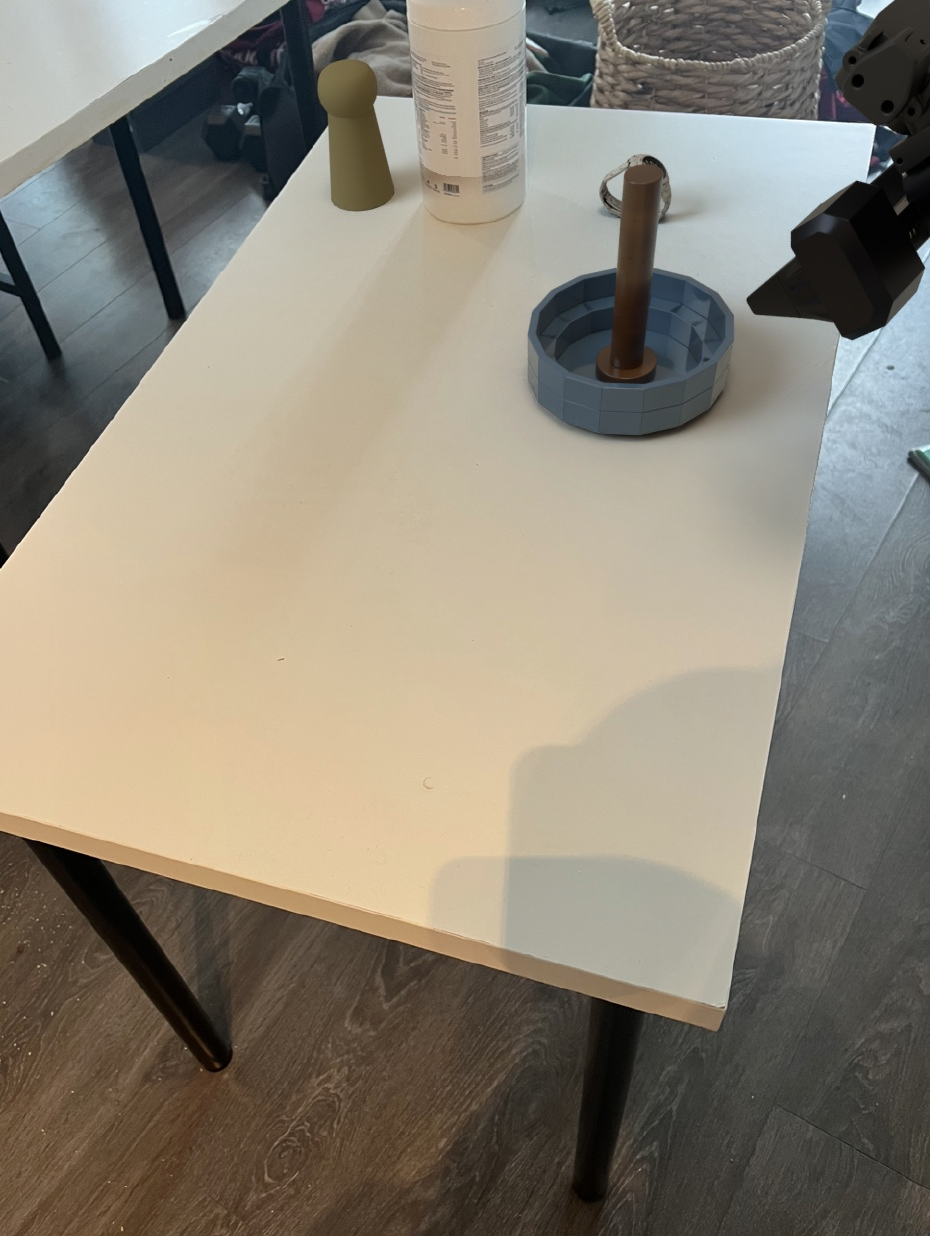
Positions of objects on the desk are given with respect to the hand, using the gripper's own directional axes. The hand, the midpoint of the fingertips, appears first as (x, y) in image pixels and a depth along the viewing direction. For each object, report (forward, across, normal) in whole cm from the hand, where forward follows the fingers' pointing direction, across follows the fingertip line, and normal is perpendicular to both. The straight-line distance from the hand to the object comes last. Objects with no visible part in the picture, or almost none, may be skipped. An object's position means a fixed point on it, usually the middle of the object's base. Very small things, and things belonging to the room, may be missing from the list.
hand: (791, 266), depth 57 cm
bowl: (+16, 0, +1) cm, 17 cm away
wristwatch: (+25, -20, -7) cm, 33 cm away
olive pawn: (+42, -10, -24) cm, 49 cm away
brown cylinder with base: (+16, 0, +1) cm, 16 cm away
